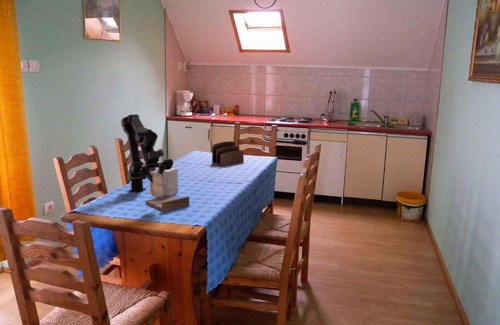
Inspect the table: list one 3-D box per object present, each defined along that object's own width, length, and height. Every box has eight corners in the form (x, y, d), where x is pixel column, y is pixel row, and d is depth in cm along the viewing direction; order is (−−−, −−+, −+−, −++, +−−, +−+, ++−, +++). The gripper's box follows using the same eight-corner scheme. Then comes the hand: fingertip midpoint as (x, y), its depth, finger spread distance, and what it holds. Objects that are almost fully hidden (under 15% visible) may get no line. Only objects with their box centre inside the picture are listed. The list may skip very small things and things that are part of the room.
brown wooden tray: (146, 203, 206) (145, 194, 205) (170, 197, 215) (170, 189, 214) (163, 211, 194) (163, 203, 193) (189, 205, 204) (189, 196, 203)
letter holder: (211, 163, 287) (211, 143, 284) (234, 159, 300) (234, 140, 297) (220, 166, 280) (220, 145, 277) (243, 162, 292) (244, 142, 289)
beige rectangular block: (150, 193, 197) (149, 173, 195) (159, 192, 199) (158, 172, 197) (154, 196, 193) (153, 175, 191) (162, 195, 195) (161, 174, 193)
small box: (168, 190, 226) (168, 166, 223) (178, 192, 223) (177, 168, 220) (159, 194, 219) (158, 170, 216) (169, 196, 216) (168, 171, 213)
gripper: (131, 145, 190) (139, 175, 183) (171, 141, 199) (180, 170, 192) (127, 159, 198) (135, 187, 191) (166, 155, 207) (175, 182, 200)
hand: (157, 181), depth 194 cm, fingers closed on beige rectangular block, 4 cm apart
